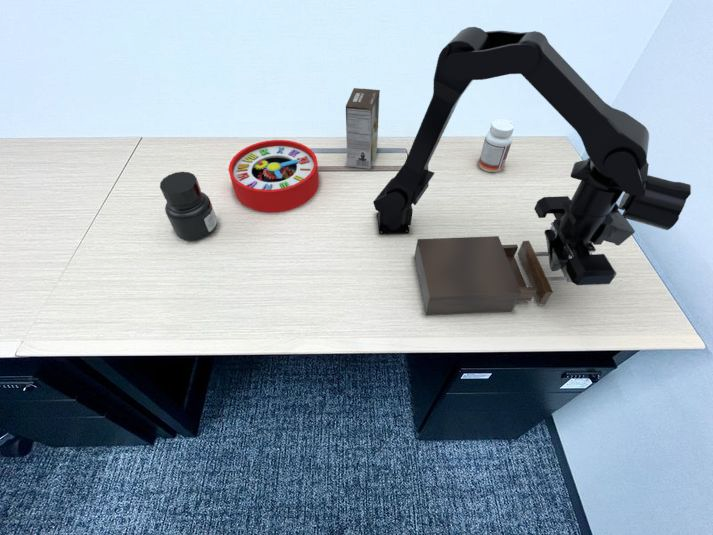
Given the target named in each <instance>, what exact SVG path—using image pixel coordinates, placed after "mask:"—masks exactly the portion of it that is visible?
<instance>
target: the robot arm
mask: <svg viewBox="0 0 713 535" xmlns="http://www.w3.org/2000/svg"><path fill="white" fill-rule="evenodd" d="M509 75H521V76H522V77H523V78H524V79H525V80H526V81H527V83H529V85H531V86H532V88H534V89H535V90H536V91H537V93H539V94H540V95H541V97H543V98H544V100H546V102H547V103H548V104H549V105H550V106H551V107H552V108H553V109H554V110H555V111H556V112H557V113H558V114H559V115H560V116H561V117H562V118H563V119H564V120H565V121H566V122H567V123H568V124H569V126H571V127H572V129H574V130H575V132H576V133H577V134H578V136H579V137H580V139H581V142H582V145H583V146H584V150H585V152H586V155H587V156H588V157H587V159H584V160H579V161H575V162H574V164H573V166H572V170H571V172H570V178H572V179H575V180H579V181H580V182H579V184H578V186H577V187H576V190H575V192H574V194H573V196H572V197H571V198H570V197H569V195H563V196H559V195H558V196H543V197H542V198H539V199H538V200H537V201H536V203H535V206H534V208H533V210H534V211H535V213H536V215H537V218H538V219H544V218H546V217H547V215H548V214H550V215H553V217H554V220H553V221H551V222H550V227H549V228H548V229H545V230H544V232H543V233H544V236H545V241H546V247H547V248H546V249H547V252H548V256H547V257H548V261H549V262H548V263H549V269H550V271H551V272H558V271H561V268H563V267H564V266H566V271H567V273H568V275H569V277H570V279H571V281H572V282H571V283H572V284H574V285H576V286H596V285H597V286H598V285H599V286H600V285H610V284H611V283H612V281H613V280H614V279H615V277H616V276H617V274H618V273H617V272H616V270H615V269H614V267H613V265H612V264H611V262H610V261H609V258H608V257H607V256H606V255H605V254H604V253H597V254H593V253H596V251H597V249H596V248H595V246H598V245H599V246H600V245H603V242H607V243H611V244H614V245H615V246H620V245H622V244H623V243H624V242H625V241H626V240H628V239H629V238H630V237H631V236H633V235H634V234H635V233H636V231H635V229H634V227H633V226H632V225H631V223H630V222H629V221H628V220H630V221H633V222H637V223H640V224H644V225H647V226H651V227H653V228H657V229H661V230H665V231H668V230H670V229H672V228H673V227H674V226H675V225H676V224H677V222H678V221H679V219H680V215H681V213H682V212H683V209H684V207H685V206H686V205H685V204H686V202H687V199H688V198H689V197H690V196H691V194H692V186H691V184H689V183H686V182H681V181H672V180H668V179H665V178H661V177H657V176H652V175H649V173H648V172H649V163H648V150H649V144H650V143H649V141H650V133H649V130H648V128H647V127H646V126H645V124H643V123H642V122H640V121H639V120H637V119H635V118H634V117H632V116H631V115H630V114H628V113H627V112H625V111H622V110H620V109H617V108H614V107H612V106H611V105H609V104H608V103H607V102H605V101H604V100H603V99H602V97H600V95H599V94H597V92H596V91H595V90H594V89H593V88H592V87H591V86H590V85H589V84H588V83H587V82H586V81H585V80H584V79H583V78H582V76H580V75H579V74H578V72H577V71H576V70H575V69H574V68H573V67H572V66H571V65H570V64H569V63H568V62H567V60H565V59H564V58H563V56H561V54H560V53H559V52H558V51H557V50H556V49H555V48H554V47H553V46H552V45H551V44H550V42H549V40H548V38H547V37H546V35H545V34H543V33H542V32H540V31H537V30H536V31H535V30H533V31H526V32H525V31H524V32H518V31H509V30H491V31H485V30H484V29H482V28H480V27H477V26H468V27H466V28H464V29H462V30H460V31H459V32H458V33H457V34H456V35H455V36H454V37H453V38H452V39H451V40H450V41H449V42H448V43H447V44H446V45H445V46H444V47H443V48H442V49H441V51H440V52H439V54H438V57H437V62H436V66H435V70H434V76H433V90H432V91H433V93H432V96H431V99H430V102H429V104H428V107H427V109H426V112H425V113H424V116H423V118H422V120H421V122H420V125H419V128H418V131H417V133H416V135H415V137H414V140H413V142H412V145H411V147H410V149H409V152H408V155H407V156H406V159H405V161H404V162H403V164H402V166H401V168H400V169H399V170H398V172H397V173H396V174H395V176H394V177H392V178H391V179H390V180H389V181H388V183H387V184H386V185H385V186H384V188H383V189H382V190H381V191H380V192H379V193H378V195H377V196H376V197H375V199H374V200H373V202H372V204H373V206H374V209H375V211H376V223H377V229H378V231H377V232H378V234H379V235H407V234H410V226H411V225H412V218H413V212H414V211H413V207H412V205H414V206H416V205H417V204H418V203H419V201H420V199H421V198H422V196H423V195H424V193H425V192H426V191H427V189H428V187H429V183H430V181H431V179H432V178H433V177H434V175H435V172H434V171H432V170H429V164H430V162H431V160H432V157H433V155H434V153H435V151H436V149H437V147H438V145H439V142H440V141H441V138H442V136H443V134H444V133H445V130H446V128H447V126H448V124H449V122H450V120H451V118H452V116H453V114H454V112H455V109H456V107H457V105H458V103H459V101H460V99H461V97H462V96H463V95H464V94H465V92H466V91H467V89H468V88H469V86H470V85H471V84H472V83H473V81H483V80H489V79H494V78H498V77H503V76H509ZM622 194H623V195H622ZM621 196H622V197H621ZM620 197H621V200H620V202H619V204H618V203H617V202H618V200H619V199H620ZM620 211H623V213H621V212H620Z"/></svg>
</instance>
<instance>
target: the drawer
mask: <svg viewBox="0 0 713 535" xmlns="http://www.w3.org/2000/svg"><path fill="white" fill-rule="evenodd" d="M502 246H503V249H504V251H505V254H506V256H507V259H508V261H509V264H510V266H511V269H512V271H513V274H514V276H515V279H516V281H517V283H518V286H519V288H520V291H521V295H520V296H519V298H518V300H517V302H531V301H532V300H533V298H534V297H535V300H536V302H537V304H538V305H539V306H542V305H543V306H545V305H546V304H547V303H548V301H549V299H550V297H551V296H552V295H553V293H554V291H553V289H552V287H551V283H550V282H567V283H572V281H571V279H570V277H569V275H568V273H567V271H566V266H564V267H563V268H561V269H560V271H561V273H562V275H563V276H562V275H560V276H546V274H545V272H544V269H543V268H542V265H541V263H540V260H539V259H538V257H549V256H548V251H535V250H534V248H533V246H532V244H531V242H530V240H522V242H521V244H520V247H519V246H518V244H502ZM515 255H516V256H517V258H518V260H519V263H520V264H521V267H522V269H523V271H524V274H525V276H526V278H527V280H528V283H529V285H530V286H527V283H526V280H525V278H524V275H523V273H522V271H521V269H520V267H519V266H520V265H519V264H518V262H517V259H516V257H515Z"/></svg>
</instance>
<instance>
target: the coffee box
mask: <svg viewBox="0 0 713 535" xmlns="http://www.w3.org/2000/svg"><path fill="white" fill-rule="evenodd" d="M380 91H381V90H380V89H371V88H358V87H353V89H352V91H351V93H350V96H349V98H348V100H347V102H346V104H345V132H346V133H345V136H346V137H345V138H346V139H345V140H346V166H347V167H350V168H359V169H367V170H371V169H372V166H373V164H374V161H375V157H376V154H377V152H378V139H379V138H378V137H379V114H380V93H381V92H380Z"/></svg>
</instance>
